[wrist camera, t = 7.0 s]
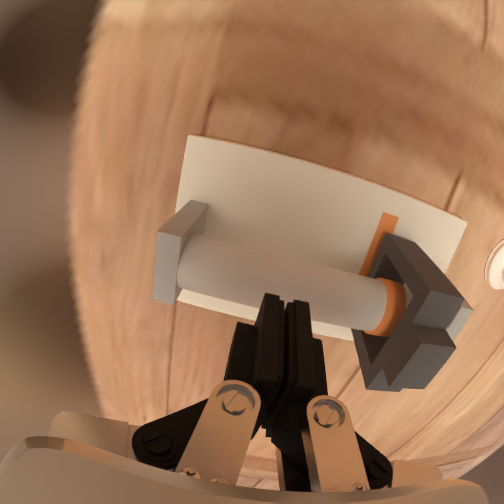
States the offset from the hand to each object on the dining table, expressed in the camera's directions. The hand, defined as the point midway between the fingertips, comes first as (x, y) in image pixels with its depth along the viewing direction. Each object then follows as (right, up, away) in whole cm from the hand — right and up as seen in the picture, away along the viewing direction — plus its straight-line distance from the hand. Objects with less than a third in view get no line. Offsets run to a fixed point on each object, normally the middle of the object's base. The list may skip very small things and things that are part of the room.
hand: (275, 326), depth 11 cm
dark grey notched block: (+8, +1, +8) cm, 11 cm away
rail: (+4, +3, +9) cm, 10 cm away
